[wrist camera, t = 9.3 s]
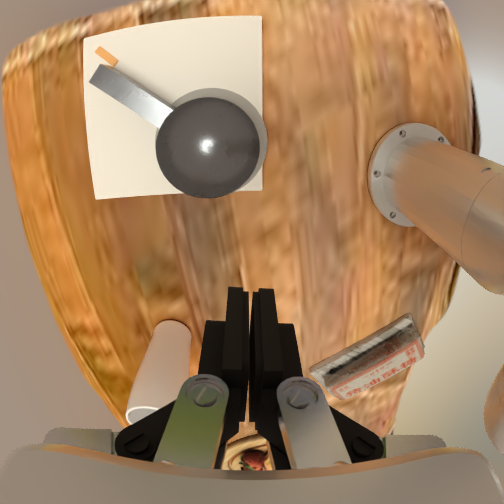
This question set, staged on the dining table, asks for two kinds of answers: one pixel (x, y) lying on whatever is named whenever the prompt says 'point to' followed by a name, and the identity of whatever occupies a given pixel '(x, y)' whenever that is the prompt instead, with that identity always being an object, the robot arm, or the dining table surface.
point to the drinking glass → (160, 370)
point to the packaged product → (371, 359)
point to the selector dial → (191, 136)
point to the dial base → (168, 93)
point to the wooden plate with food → (247, 454)
